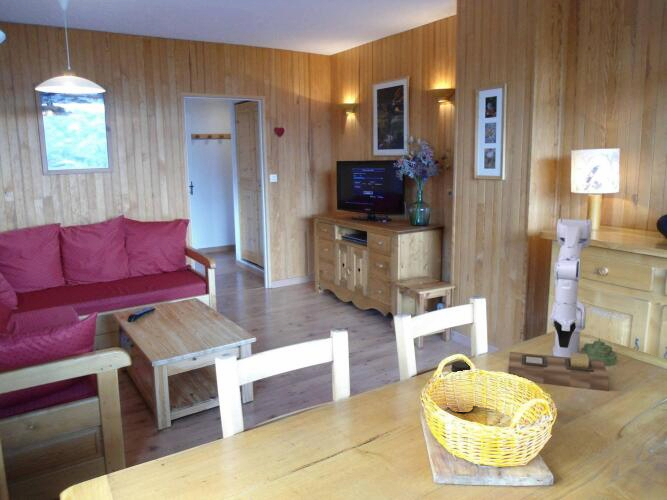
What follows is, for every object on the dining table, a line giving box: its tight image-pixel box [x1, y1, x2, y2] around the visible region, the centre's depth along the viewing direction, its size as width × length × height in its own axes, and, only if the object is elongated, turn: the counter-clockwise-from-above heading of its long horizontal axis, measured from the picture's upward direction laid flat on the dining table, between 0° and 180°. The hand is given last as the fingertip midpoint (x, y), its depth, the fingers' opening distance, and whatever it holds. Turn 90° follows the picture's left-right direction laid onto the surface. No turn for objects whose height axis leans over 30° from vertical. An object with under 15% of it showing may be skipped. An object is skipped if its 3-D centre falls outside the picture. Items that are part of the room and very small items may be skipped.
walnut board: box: [507, 351, 610, 392], centre depth 153 cm, size 12×26×4 cm, turn 70°
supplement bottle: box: [450, 360, 472, 372], centre depth 136 cm, size 7×7×12 cm
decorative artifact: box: [580, 338, 618, 367], centre depth 164 cm, size 10×7×10 cm
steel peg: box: [526, 356, 542, 364], centre depth 155 cm, size 4×4×4 cm
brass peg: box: [569, 352, 589, 369], centre depth 150 cm, size 4×4×4 cm
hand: (563, 346), depth 151 cm, fingers closed
